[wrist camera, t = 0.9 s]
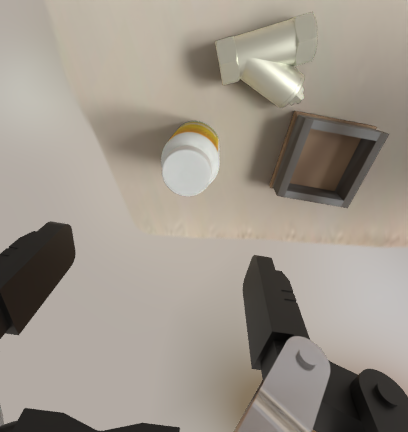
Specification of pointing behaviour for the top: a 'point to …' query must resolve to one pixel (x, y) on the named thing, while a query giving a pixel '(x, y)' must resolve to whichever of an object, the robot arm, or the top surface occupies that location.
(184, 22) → the top surface
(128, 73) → the top surface
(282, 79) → the pipe fitting
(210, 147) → the supplement bottle
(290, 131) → the square holder
